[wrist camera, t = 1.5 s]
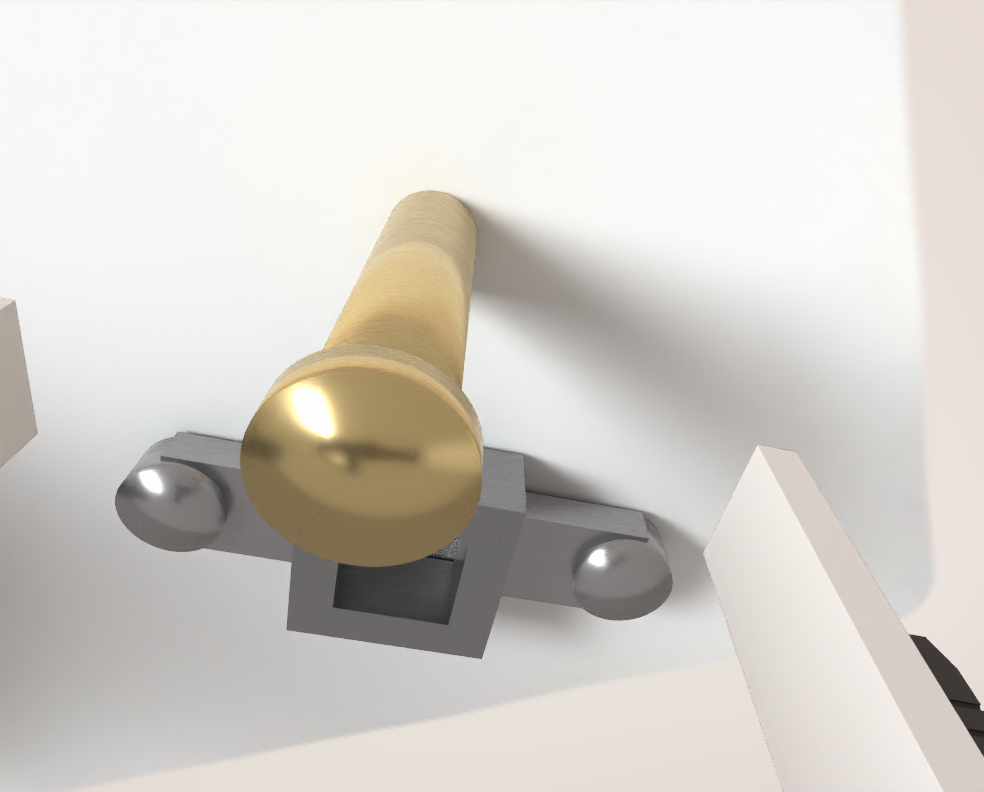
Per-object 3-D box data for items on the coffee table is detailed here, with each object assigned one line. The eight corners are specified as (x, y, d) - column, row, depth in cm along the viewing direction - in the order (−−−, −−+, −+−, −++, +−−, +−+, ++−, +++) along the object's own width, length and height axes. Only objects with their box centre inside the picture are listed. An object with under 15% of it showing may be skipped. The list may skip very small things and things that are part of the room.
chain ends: (147, 540, 30) (106, 603, 27) (135, 385, 26) (86, 438, 23) (630, 617, 32) (644, 683, 29) (691, 484, 28) (714, 545, 25)
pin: (365, 280, 23) (238, 547, 12) (379, 162, 21) (242, 351, 10) (479, 302, 24) (458, 581, 12) (503, 189, 22) (504, 400, 10)
